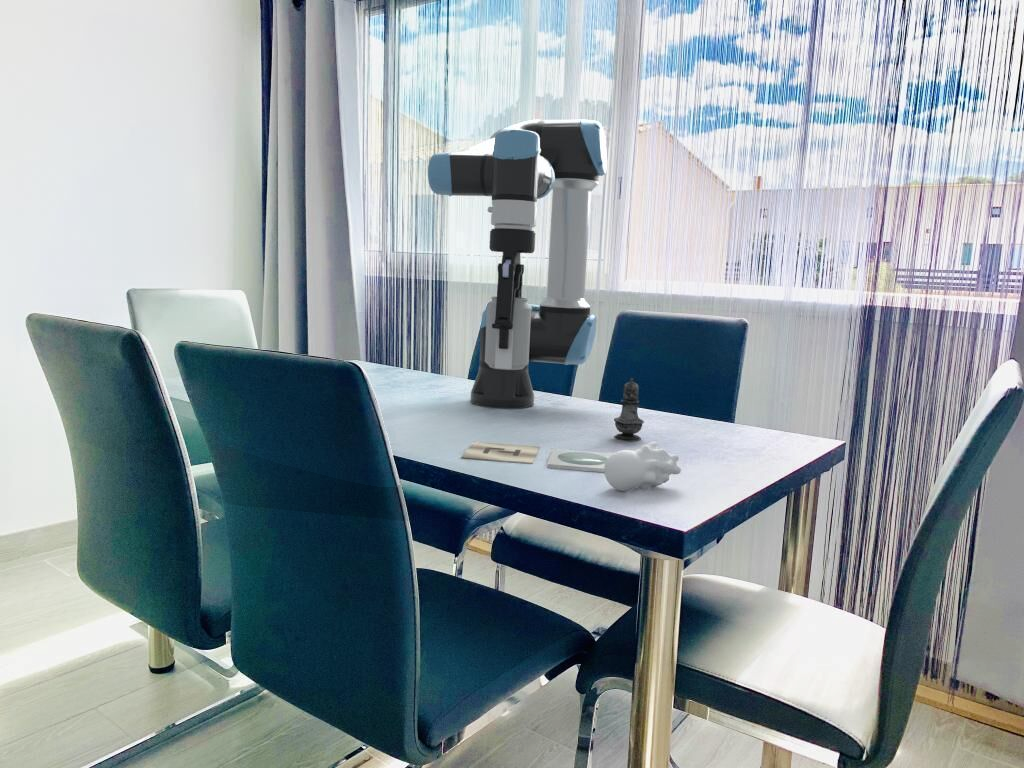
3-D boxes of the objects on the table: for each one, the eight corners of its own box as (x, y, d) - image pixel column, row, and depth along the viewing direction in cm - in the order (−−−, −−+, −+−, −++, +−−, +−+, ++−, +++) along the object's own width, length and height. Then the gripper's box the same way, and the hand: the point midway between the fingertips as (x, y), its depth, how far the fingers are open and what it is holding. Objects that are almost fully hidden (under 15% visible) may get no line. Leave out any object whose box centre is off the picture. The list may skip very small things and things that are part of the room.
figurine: (589, 466, 113) (651, 455, 119) (606, 506, 110) (670, 492, 116) (609, 443, 108) (674, 432, 114) (628, 483, 105) (693, 471, 111)
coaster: (552, 451, 132) (552, 448, 132) (615, 457, 131) (615, 453, 131) (547, 467, 121) (547, 463, 121) (615, 473, 120) (615, 469, 120)
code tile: (473, 442, 136) (474, 441, 136) (539, 447, 135) (539, 446, 135) (461, 458, 125) (461, 456, 125) (532, 464, 123) (532, 462, 123)
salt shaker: (606, 437, 147) (610, 376, 145) (623, 433, 151) (627, 374, 149) (631, 443, 143) (636, 380, 141) (648, 439, 147) (653, 378, 145)
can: (524, 371, 123) (527, 298, 122) (479, 368, 125) (482, 296, 123) (531, 366, 131) (535, 297, 129) (490, 363, 132) (493, 294, 130)
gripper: (499, 230, 135) (494, 356, 138) (480, 223, 115) (474, 371, 118) (541, 232, 134) (534, 359, 137) (528, 225, 114) (521, 375, 117)
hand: (506, 365), depth 128 cm, fingers closed on can, 7 cm apart
